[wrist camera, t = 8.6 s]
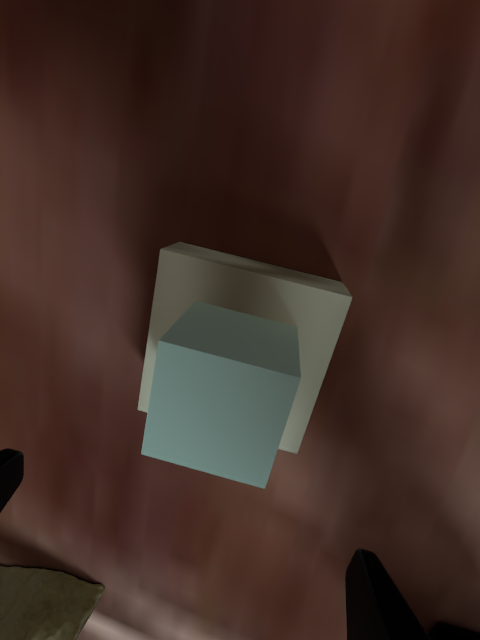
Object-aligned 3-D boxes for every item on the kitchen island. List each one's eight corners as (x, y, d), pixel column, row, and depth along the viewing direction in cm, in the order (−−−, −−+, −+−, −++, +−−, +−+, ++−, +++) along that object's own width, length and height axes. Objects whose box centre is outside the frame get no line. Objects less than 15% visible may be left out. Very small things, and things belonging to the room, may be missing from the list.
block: (297, 326, 16) (301, 378, 12) (271, 413, 18) (264, 488, 13) (195, 300, 17) (158, 340, 12) (178, 389, 18) (141, 453, 14)
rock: (-65, 609, 30) (20, 691, 29) (-153, 687, 21) (-36, 800, 21) (40, 500, 33) (117, 573, 33) (-1, 531, 25) (101, 628, 25)
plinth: (342, 282, 18) (352, 297, 16) (296, 420, 21) (297, 453, 19) (179, 241, 19) (160, 249, 16) (156, 382, 22) (137, 409, 19)
